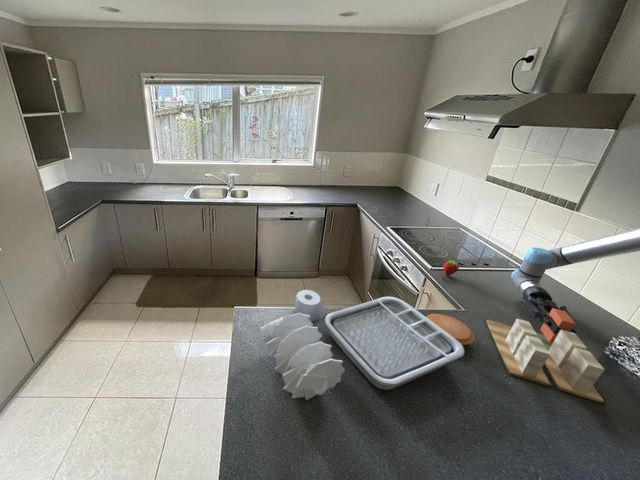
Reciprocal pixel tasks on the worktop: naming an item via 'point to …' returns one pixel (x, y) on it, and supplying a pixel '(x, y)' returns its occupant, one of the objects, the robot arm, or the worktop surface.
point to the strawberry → (450, 267)
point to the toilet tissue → (310, 305)
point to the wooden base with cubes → (521, 350)
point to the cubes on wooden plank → (572, 365)
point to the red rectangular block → (561, 320)
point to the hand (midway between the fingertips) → (564, 332)
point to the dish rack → (391, 341)
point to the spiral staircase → (301, 356)
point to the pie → (453, 328)
